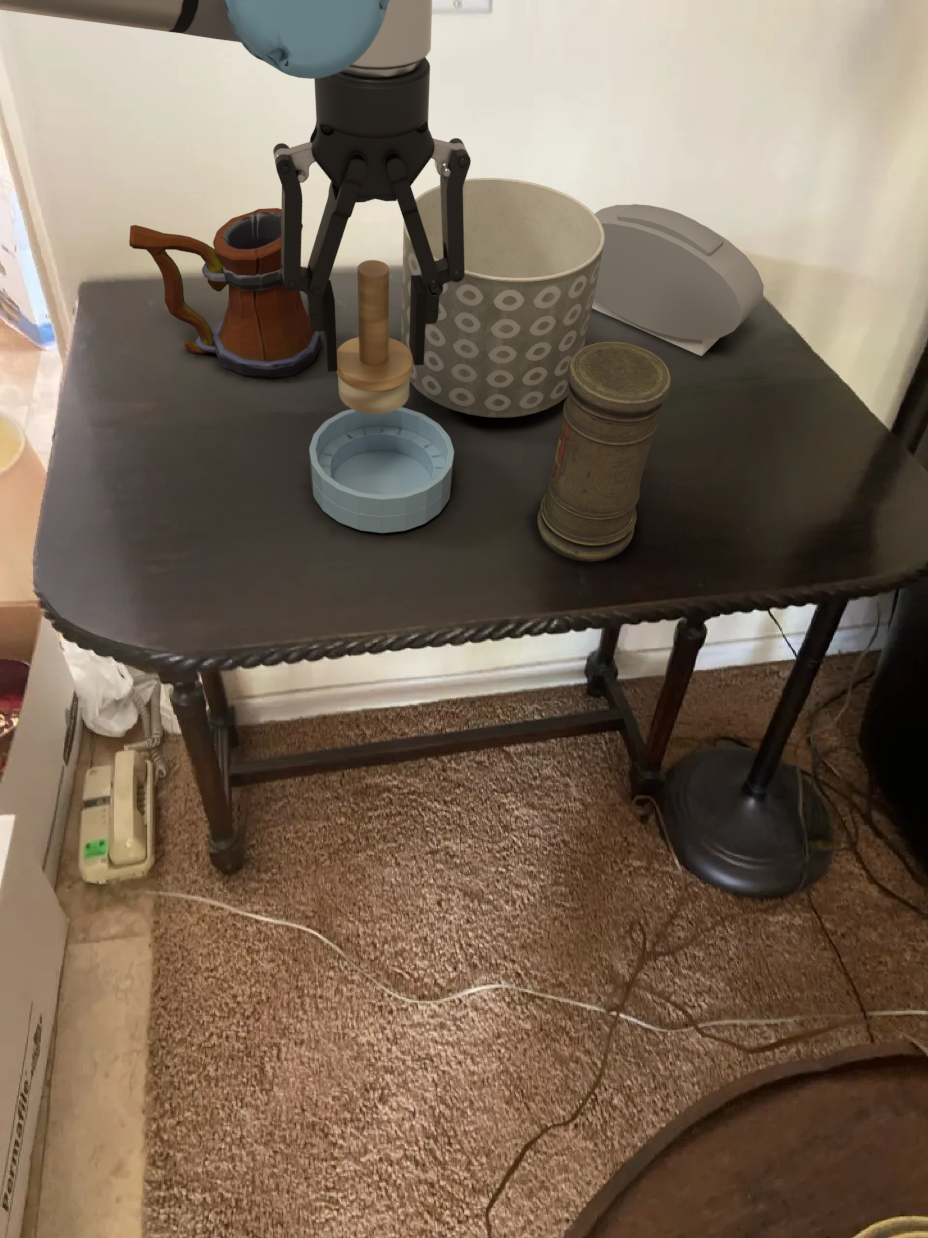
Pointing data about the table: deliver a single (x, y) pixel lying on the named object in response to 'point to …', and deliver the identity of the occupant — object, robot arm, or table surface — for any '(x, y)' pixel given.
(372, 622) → the table surface
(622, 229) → the alarm clock
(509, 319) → the planter
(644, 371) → the container
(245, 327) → the mug
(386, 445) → the bowl
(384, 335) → the brush
